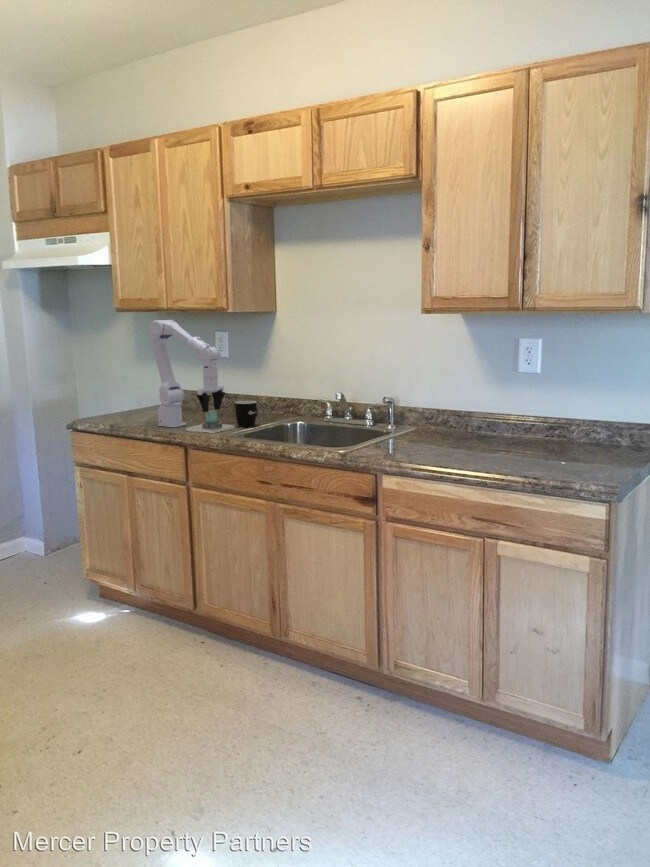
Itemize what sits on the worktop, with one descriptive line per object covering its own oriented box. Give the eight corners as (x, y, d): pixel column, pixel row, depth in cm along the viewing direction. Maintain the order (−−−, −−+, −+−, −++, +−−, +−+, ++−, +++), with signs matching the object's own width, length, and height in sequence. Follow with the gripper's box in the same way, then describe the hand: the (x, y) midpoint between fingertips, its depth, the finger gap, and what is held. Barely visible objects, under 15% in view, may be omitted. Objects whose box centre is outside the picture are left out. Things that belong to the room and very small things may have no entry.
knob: (211, 427, 291) (211, 411, 290) (203, 426, 294) (203, 411, 293) (219, 425, 295) (218, 410, 294) (211, 424, 297) (210, 409, 296)
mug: (248, 428, 295) (247, 404, 293) (231, 426, 300) (230, 402, 298) (265, 424, 305) (265, 400, 303) (248, 422, 310) (247, 399, 308)
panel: (186, 430, 291) (185, 424, 291) (208, 425, 303) (208, 419, 303) (213, 433, 284) (213, 426, 284) (234, 428, 296) (234, 421, 296)
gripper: (206, 379, 283) (207, 413, 285) (229, 376, 295) (230, 409, 297) (192, 378, 286) (193, 412, 288) (215, 375, 298) (216, 407, 301)
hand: (211, 410), depth 293 cm, fingers open, 7 cm apart
